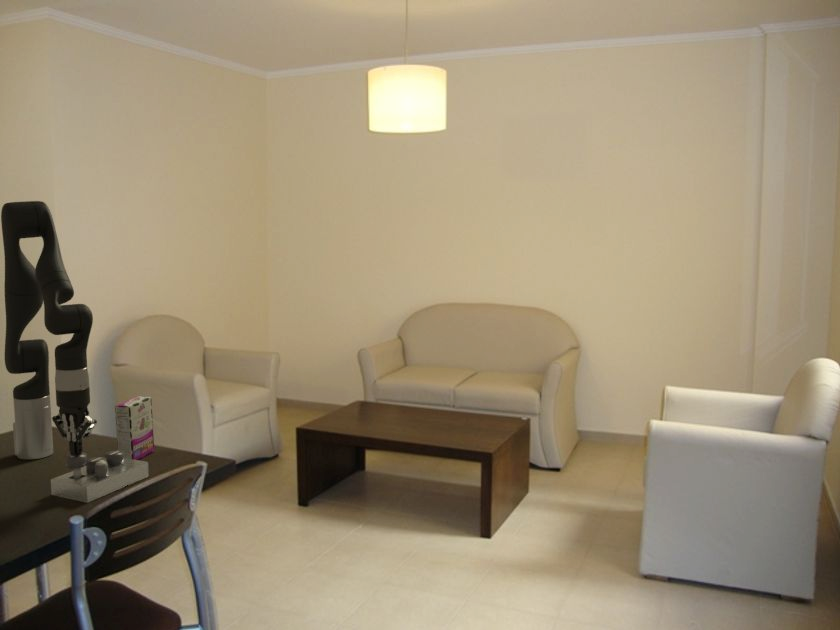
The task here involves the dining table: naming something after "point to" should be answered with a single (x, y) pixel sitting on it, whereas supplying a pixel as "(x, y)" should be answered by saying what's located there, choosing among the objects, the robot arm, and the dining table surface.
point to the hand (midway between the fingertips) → (76, 454)
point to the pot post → (101, 469)
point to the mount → (99, 481)
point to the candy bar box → (135, 427)
